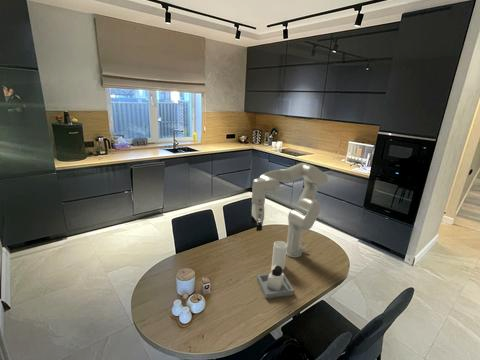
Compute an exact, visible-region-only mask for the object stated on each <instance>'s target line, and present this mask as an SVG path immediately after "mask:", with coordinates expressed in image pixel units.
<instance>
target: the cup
mask: <svg viewBox="0 0 480 360" xmlns="http://www.w3.org/2000/svg"><path fill="white" fill-rule="evenodd" d="M286 252H287V242H285V241H282V240H277V241H274V242H273V249H272V259H271V267H272V266H274V265H278V266H280V267H281V268H282V271H283V270H285V267H286V260H287V259H286V258H287V255H286Z"/></svg>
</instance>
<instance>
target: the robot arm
mask: <svg viewBox="0 0 480 360" xmlns="http://www.w3.org/2000/svg"><path fill="white" fill-rule="evenodd" d="M301 178H303V181H304V188H303V190H302V193H301V194H300V196H299V198H298V200H297V203H296V205H297V207H298V209H296V208H295V209H291V210H290V211H288V212H289V213H288V215H287V222H288V228H287V236H286V244H287V252H286V257H288V258H289V257H290V258H293V259H294V258H295V259H296V258H300V257H301V256H302V255H303V251H307V246H303V245H302V239H303V238H302V237H303V231H309V230H311V229H312V228H313V226H314V224H315V222H316V220H317V219H318V216H319V214H320V212H321V209H322V205H321V202H320V201H318V200H317V199H315V197H316V195H317V193H318V187H324V186H325V185H327V184H328V179H329V178H328V175H327V174H326V173H325V172H324V171H323V170H321V169H320V168H318V167H317V166H314V165H313V164H309V163H305V162H300V163H299V162H298V163H297V164H295V165H292V166H290V167H287V168H285V169H283V168H282V169H274V170H269V171H267V172H265V173H262V174H261V175H260V176H259V177H257V178H255V179H253V181H252V188H251V191H252V192H251V218H250V219H251V220H250V221H251V222H250V223H251V224H256V229H255V230H256V232H262V230H263V225H264V223H263V222H264V220H265V202H266V193H267V192H270V193H271V192H277V191H278V190H279V188H280V186H281V184H280V183H281V182H282V183H292V182H295V181H296V180H299V179H301ZM317 186H318V187H317ZM299 209H300V210H299ZM301 210H302V211H301ZM303 211H304V212H303Z"/></svg>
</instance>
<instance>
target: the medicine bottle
mask: <svg viewBox="0 0 480 360" xmlns="http://www.w3.org/2000/svg"><path fill="white" fill-rule="evenodd" d="M270 268H271V269H270V272H269V273H270V274H269V276H268V282H267V287H268V288H271V289H273V290H276V291H280V289H281V287H282V284H283V278H284V275H285V273H284V272H283V270H282V268H281V267H280V266H278V265H274V266H272V265H271V267H270ZM282 272H283V273H284V274H283V273H282Z"/></svg>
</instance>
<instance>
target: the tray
mask: <svg viewBox="0 0 480 360" xmlns="http://www.w3.org/2000/svg"><path fill="white" fill-rule="evenodd" d="M270 273H271V272H268V273H260V274H256V280H257V282H258V285H259V287H260V289H261V292H262V294H263V296H264V298H265V299H266V300H269V299H277V298H282V297H289V296H294V295H295V289H294V287H293V286H292V284H291V283H290V281H289V279H288V278H287V276H286V275H285V273H284V272H283V271H282V273H283V274H284V278H283V284H282V287H281V289H280V291H276V290H273V289H271V288H268V287H267V282H268V276H269V274H270Z"/></svg>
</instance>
